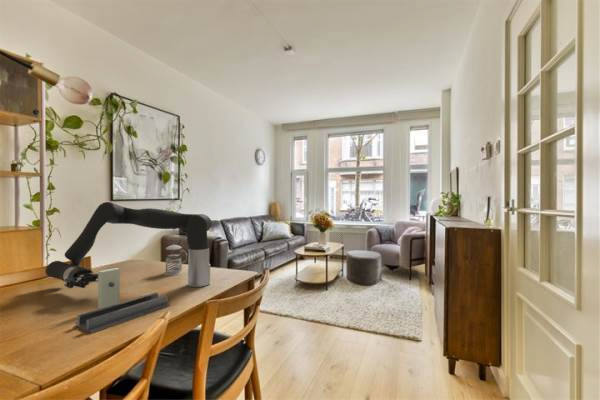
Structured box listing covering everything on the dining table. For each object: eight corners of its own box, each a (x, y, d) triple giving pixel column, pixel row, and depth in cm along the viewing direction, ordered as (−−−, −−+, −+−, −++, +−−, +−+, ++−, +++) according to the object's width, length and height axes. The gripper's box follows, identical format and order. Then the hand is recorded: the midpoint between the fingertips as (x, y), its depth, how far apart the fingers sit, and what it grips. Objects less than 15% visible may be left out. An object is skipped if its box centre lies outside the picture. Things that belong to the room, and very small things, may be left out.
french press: (164, 271, 155) (165, 226, 155) (187, 269, 159) (187, 226, 159) (162, 276, 146) (163, 228, 146) (186, 274, 150) (187, 227, 150)
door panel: (115, 304, 106) (116, 267, 106) (120, 306, 105) (121, 269, 105) (98, 309, 101) (98, 271, 101) (102, 311, 100) (103, 272, 99)
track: (153, 300, 111) (154, 291, 111) (169, 305, 106) (169, 296, 106) (75, 325, 88) (75, 314, 88) (90, 333, 83) (90, 322, 83)
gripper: (56, 270, 110) (75, 276, 102) (97, 263, 122) (117, 268, 114) (56, 289, 110) (75, 297, 102) (97, 280, 122) (117, 287, 114)
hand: (97, 282), depth 108 cm, fingers open, 8 cm apart
